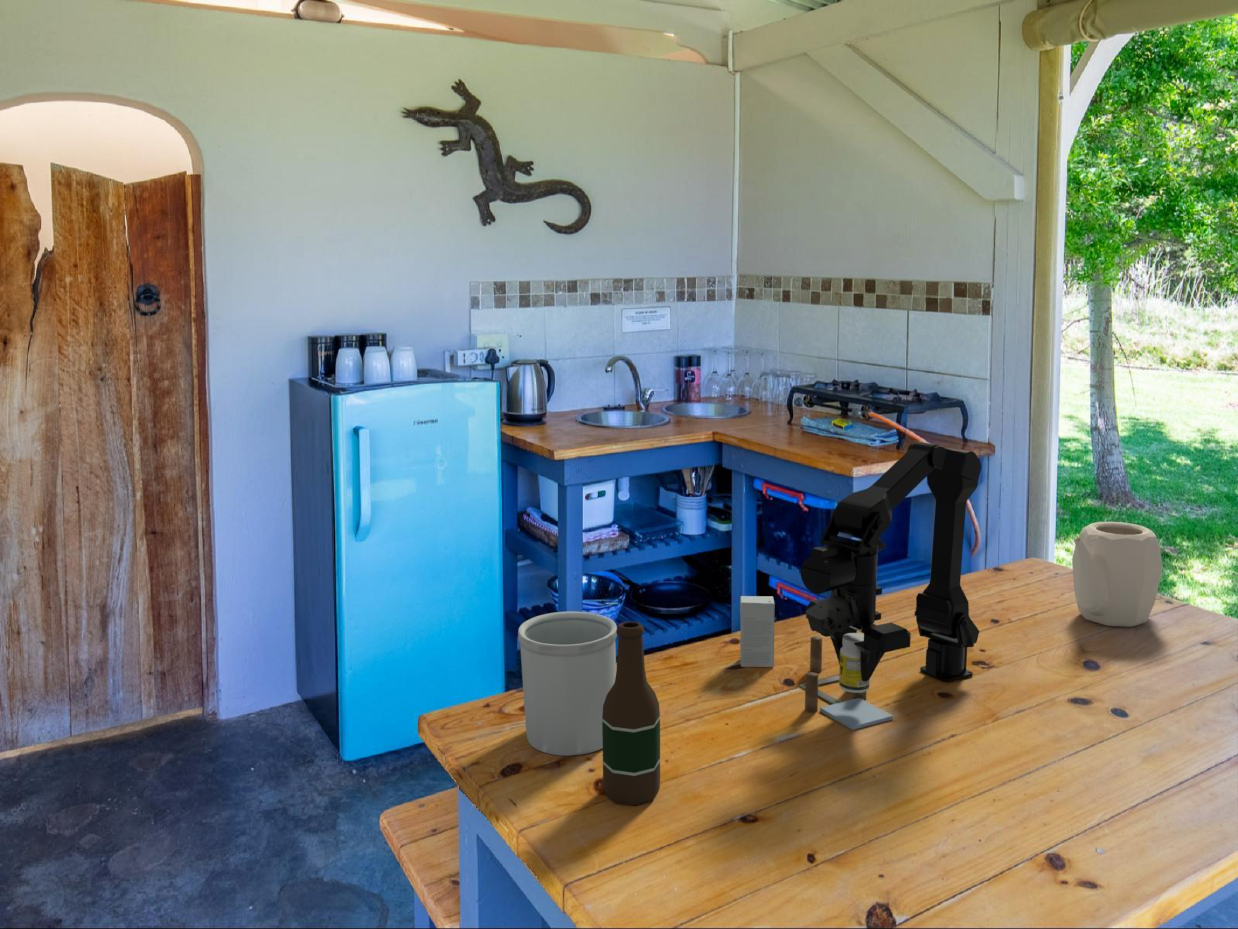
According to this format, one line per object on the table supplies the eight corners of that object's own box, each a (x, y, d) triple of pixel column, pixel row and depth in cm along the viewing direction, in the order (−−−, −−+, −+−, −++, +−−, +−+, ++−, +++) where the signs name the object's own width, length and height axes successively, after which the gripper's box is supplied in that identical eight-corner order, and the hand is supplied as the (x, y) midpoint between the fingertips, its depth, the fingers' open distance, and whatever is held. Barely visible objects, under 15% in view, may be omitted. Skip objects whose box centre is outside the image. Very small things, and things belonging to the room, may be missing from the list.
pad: (859, 701, 172) (859, 697, 172) (892, 719, 165) (893, 715, 165) (820, 711, 169) (820, 707, 169) (852, 730, 162) (852, 726, 162)
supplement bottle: (841, 680, 170) (842, 630, 168) (871, 683, 168) (872, 633, 167) (836, 691, 165) (838, 640, 164) (867, 695, 164) (869, 644, 162)
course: (823, 666, 188) (824, 634, 186) (880, 695, 174) (881, 661, 173) (755, 681, 181) (756, 648, 180) (810, 713, 168) (810, 678, 167)
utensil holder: (545, 767, 151) (542, 651, 148) (506, 728, 164) (503, 620, 161) (635, 745, 158) (634, 633, 154) (591, 709, 171) (590, 605, 167)
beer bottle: (601, 780, 147) (599, 616, 142) (656, 778, 147) (656, 613, 143) (605, 809, 139) (602, 635, 135) (663, 805, 140) (663, 633, 135)
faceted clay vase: (1032, 623, 209) (1038, 530, 205) (1109, 598, 223) (1116, 511, 220) (1106, 645, 196) (1114, 547, 192) (1182, 618, 211) (1191, 526, 207)
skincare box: (773, 659, 191) (774, 596, 189) (774, 668, 187) (775, 603, 185) (739, 658, 192) (740, 595, 189) (739, 667, 188) (740, 602, 185)
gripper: (779, 572, 168) (778, 665, 171) (855, 605, 152) (852, 707, 155) (835, 563, 173) (832, 653, 176) (915, 593, 157) (911, 692, 160)
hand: (854, 675), depth 167 cm, fingers closed on supplement bottle, 5 cm apart
